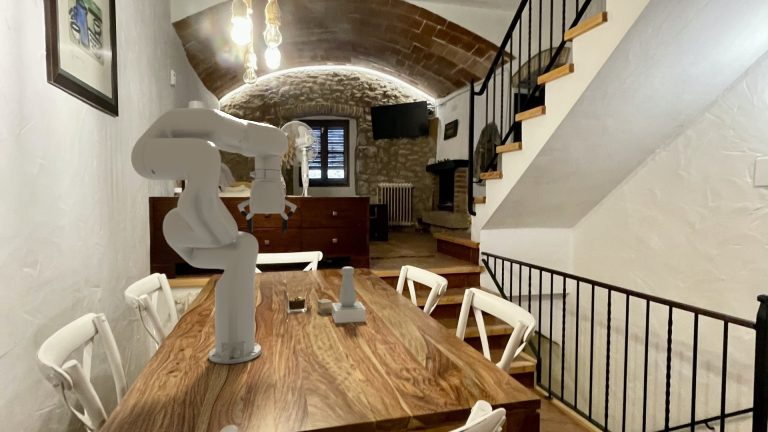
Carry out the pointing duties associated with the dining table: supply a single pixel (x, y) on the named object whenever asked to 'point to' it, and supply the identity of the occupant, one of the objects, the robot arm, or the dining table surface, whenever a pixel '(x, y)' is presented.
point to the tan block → (324, 306)
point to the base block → (348, 313)
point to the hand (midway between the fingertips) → (267, 232)
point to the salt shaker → (347, 288)
